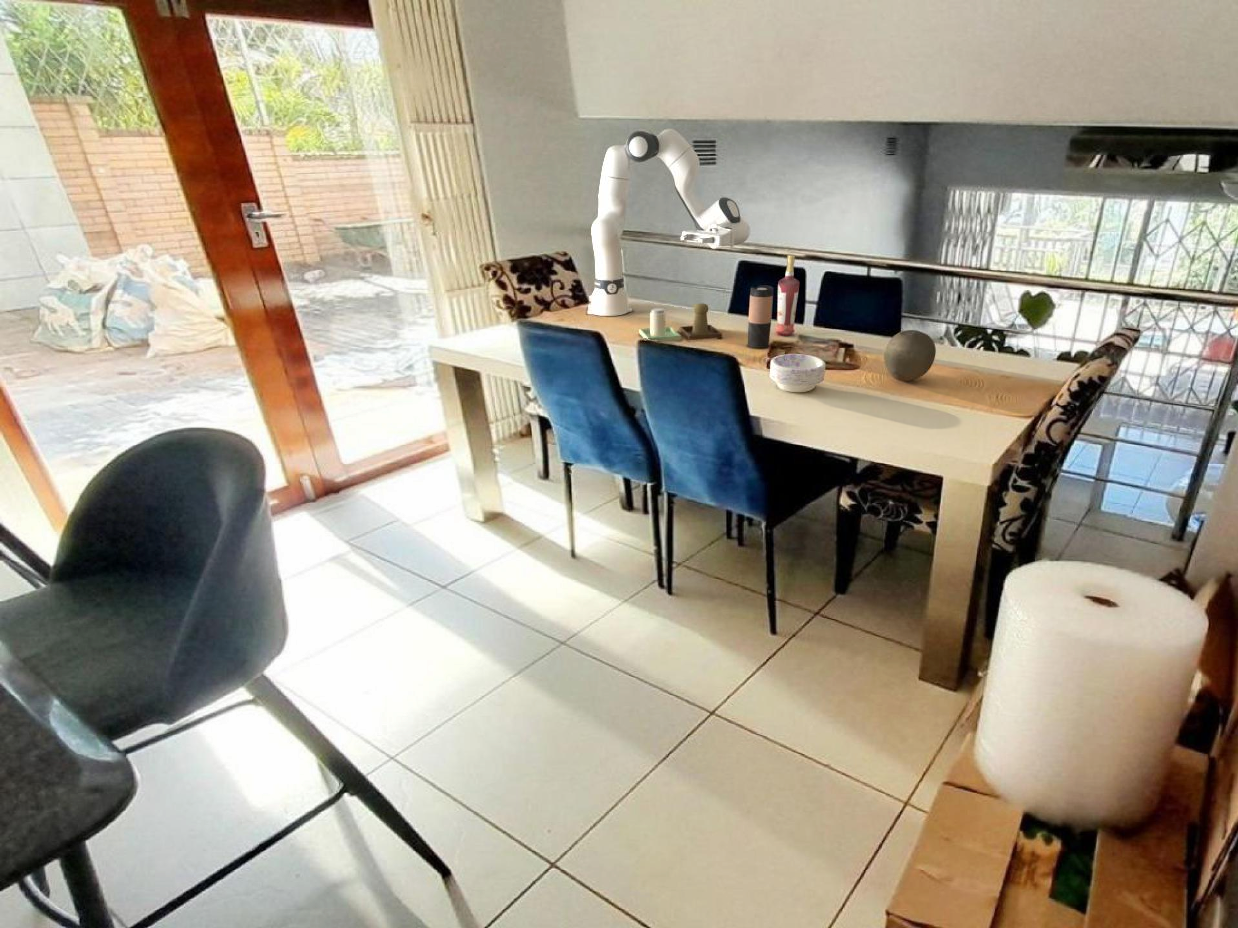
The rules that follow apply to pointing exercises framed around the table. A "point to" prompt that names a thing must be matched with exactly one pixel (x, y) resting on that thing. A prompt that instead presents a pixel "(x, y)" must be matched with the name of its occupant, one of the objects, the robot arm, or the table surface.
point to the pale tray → (669, 335)
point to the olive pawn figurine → (700, 319)
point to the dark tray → (711, 334)
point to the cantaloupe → (909, 355)
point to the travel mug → (760, 316)
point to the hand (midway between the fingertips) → (691, 239)
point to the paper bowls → (797, 372)
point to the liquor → (787, 300)
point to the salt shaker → (657, 322)
